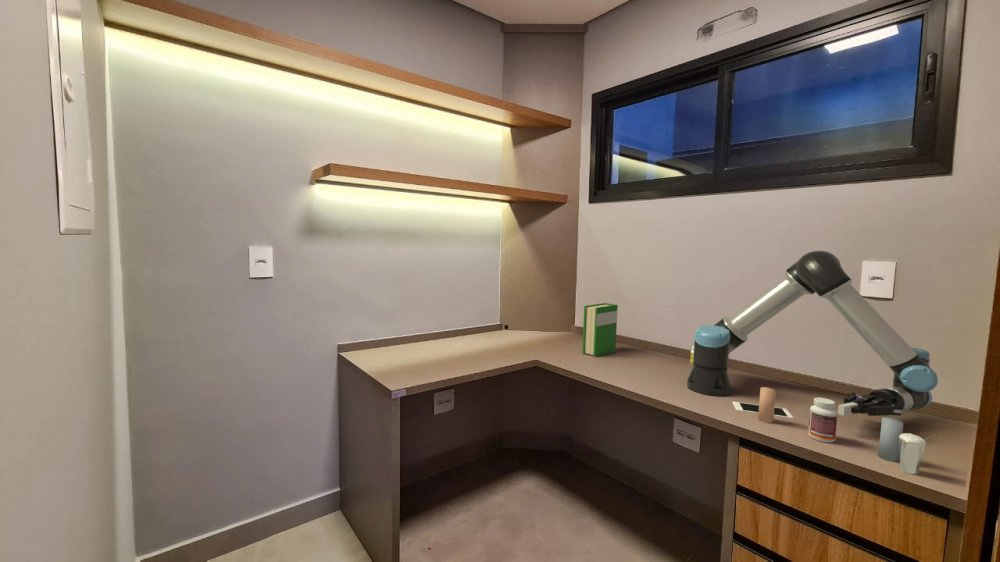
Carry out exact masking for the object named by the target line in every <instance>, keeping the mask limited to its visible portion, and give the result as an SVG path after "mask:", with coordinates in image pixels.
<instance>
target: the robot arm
mask: <svg viewBox="0 0 1000 562" xmlns="http://www.w3.org/2000/svg"><path fill="white" fill-rule="evenodd" d="M815 293H816V295H817V296H819V297H820V298H822V299H826V300H827V301H828V302H829V303H830V304H831V305H832V307H833V308H834V309H835V310H836V311H837V312H838V313H839V314H840V315H841V316H842V317H843V319H845V321H846V322H848V324H849V325H850V326H851V327H852V328H853V329H854V331H856V333H858V335H860V337H861V338H862V339H863V340H864V341H865V342H866V343H867V344H868V345H869V346H870V348H871V349H872V350H873V351H874V352H875V353H876V354H877V355H878V357H880V359H881V360H883V362H884V363H885V364H886V365H887V366H888V367H889V368H890V370H891V371H892V372H893V380H892V386H890V387H884V388H880V389H875V390H872V391H871V392H870V393H869V394H866V395H865V394H863V395H862V396H861V395H860V396H859V394H857V393H855V392H850V395H848V396H847V397H844V398H843V402H842V404H838V408H837V413H838V415H839V416H843V417H844V416H849V415H854V414H856V415H857V414H861V415H862V414H863V415H865V414H867V416H870V417H877V416H882V417H883V416H898V417H900V416H902V412H908V411H913V410H919V409H923V408H924V407H925V408H926V407H927V406H928V405H930V404H931V402H932V401H933V396H932V393H931V391H932V390H934V389H935V388H936V387H937V386H938V384H939V379H938V376H937V373H936V372H935V371H934V370H933V369H932V368H931V366H930V362H931V359H930V351H928V350H925V349H922V348H916V347H911V346H910V344H908V343H907V342H906V341H905V339H904V338H903V337H902V336H901V335H900V334H898V332H897V331H896V330H895V329H894V328H893V327H892V326H891V325H890V323H888V322H887V321H886V319H884V317H883V316H882V315H881V314H880V313H878V311H877V310H876V309H875V308H874V307H873V306H872V305H871V303H870V302H868V301H867V300H866V299H865V298H864V296H863V295H861V293H860V292H859V291H858V290H857V288H855V287H854V286H853V285H852V278H850V277H849V275H848V274H847V273H846V272H845V271H844V269H843V268H842V266H841V262H840V260H839V258H838V257H837V256H836V255H834V254H833V253H832V252H830V251H826V250H814V251H810V252H808V253H804V255H802V256H801V257H800V258H799V259H798V261H796V262H795V263H793V264H792V265H791V266H789V267H788V268H787V269H786V270H785V271H784V277H781V279H780V280H779V281H777V282H776V283H774V284H773V285H772V286H770V287H769V288H768V289H766V290H765V291H764V292H763V293H761V294H760V295H759V296H757V297H756V298H755V299H753V300H752V301H751V302H750V303H748V304H747V305H745V306H744V307H743V308H742V309H740V310H738V312H736V313H735V314H733V316H731V317H726V316H724V317H723V318H721V319H720V320H719V321H718V322H717V323H715V324H713V325H709V324H708V325H701V326H699V327H697V328H696V329H695V332H694V333H695V334H694V343H693V344H694V345H693V346H694V359H693V366H692V368H691V370H690V372H689V375H688V376H687V380H686V388H688V389H689V390H691V391H693V392H696V393H699V394H703V395H707V396H715V397H724V396H730V395H731V394H732V392H733V391H732V388H733V386H732V383H731V379H730V376H729V372H728V367H729V355H730V354H731V352H733V351H734V350H736V349H737V348H739V347H740V346H742V345H743V344H745V343H746V342H748V335H750V334H751V333H752V332H754V331H755V330H756V329H758V328H760V327H761V326H762V325H764V324H765V323H766V322H768V321H769V320H771V319H772V318H773V317H775V316H776V315H777V314H779V313H780V312H782V311H783V310H785V309H786V308H788V307H789V306H790V305H792V304H793V303H795V302H796V301H797V300H799V299H800V298H802V297H803V296H804V295H814V294H815Z"/></svg>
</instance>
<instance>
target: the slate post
mask: <svg viewBox="0 0 1000 562" xmlns="http://www.w3.org/2000/svg"><path fill="white" fill-rule="evenodd" d="M880 425H881V426H880V433H879V434H880V435H879V442H878V445H879V446H878V457H879V458H881V459H883V460H886V461H888V462H891V463H900V445H899V436H900V435H901V434H903V432H904V422H903V421H902V420H899V419H897V418H892V417H883V416H882V417H881V423H880Z"/></svg>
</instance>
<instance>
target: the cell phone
mask: <svg viewBox="0 0 1000 562" xmlns="http://www.w3.org/2000/svg"><path fill="white" fill-rule="evenodd" d="M732 405H733V407H734V409H735V410H736V411H739V412H744V413H746V412H747V413H753V414H758V413H759V404H754V403H747V402H740V401H732ZM774 416H775V417H780V418H781V417H782V418H787V419H789V418H790V419H794V416H793V415H792V414H791V413H790V411H789V410H788V409H787V408H784V407H777V406H775V407H774Z"/></svg>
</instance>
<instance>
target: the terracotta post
mask: <svg viewBox="0 0 1000 562" xmlns="http://www.w3.org/2000/svg"><path fill="white" fill-rule="evenodd" d="M776 390H777V389H774V388H771V387H766V386H763V387H760V390H759V391H760V392H759V400H758V401H759V403H758V405H759V413H757V414H758V415H757V420H758V421H759V422H762V423H766V424H773V423H774V419H775V418H774V407H776V394H777V392H776Z"/></svg>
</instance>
